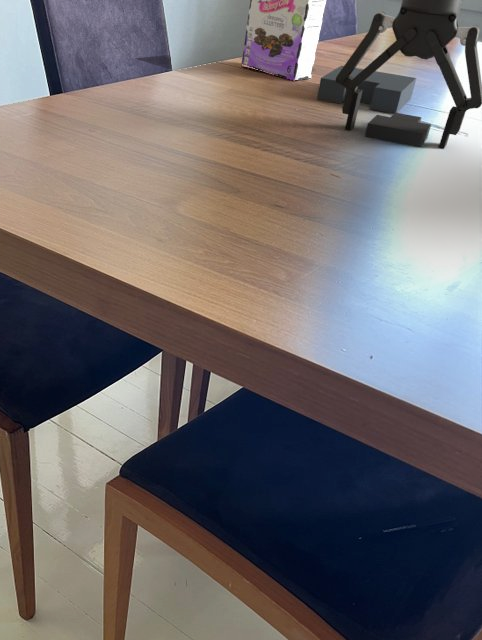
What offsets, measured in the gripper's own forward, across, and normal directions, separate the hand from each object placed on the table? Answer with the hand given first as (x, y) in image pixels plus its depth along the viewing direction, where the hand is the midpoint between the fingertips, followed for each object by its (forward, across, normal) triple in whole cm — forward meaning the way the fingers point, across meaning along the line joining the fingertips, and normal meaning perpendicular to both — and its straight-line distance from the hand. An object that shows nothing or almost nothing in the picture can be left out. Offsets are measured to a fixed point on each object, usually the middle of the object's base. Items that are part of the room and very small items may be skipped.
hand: (392, 147), depth 107 cm
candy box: (+1, -31, +38) cm, 49 cm away
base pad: (0, -11, +29) cm, 31 cm away
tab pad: (0, 0, +2) cm, 2 cm away
